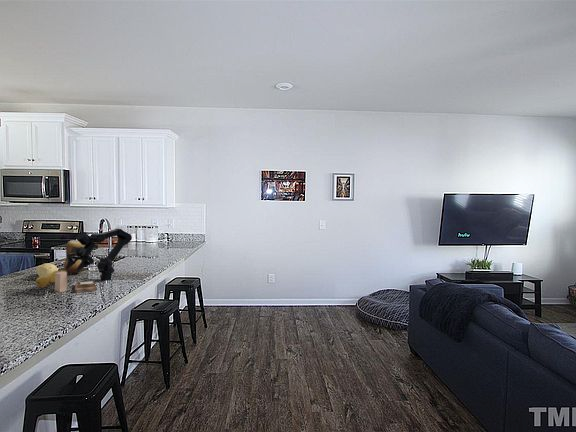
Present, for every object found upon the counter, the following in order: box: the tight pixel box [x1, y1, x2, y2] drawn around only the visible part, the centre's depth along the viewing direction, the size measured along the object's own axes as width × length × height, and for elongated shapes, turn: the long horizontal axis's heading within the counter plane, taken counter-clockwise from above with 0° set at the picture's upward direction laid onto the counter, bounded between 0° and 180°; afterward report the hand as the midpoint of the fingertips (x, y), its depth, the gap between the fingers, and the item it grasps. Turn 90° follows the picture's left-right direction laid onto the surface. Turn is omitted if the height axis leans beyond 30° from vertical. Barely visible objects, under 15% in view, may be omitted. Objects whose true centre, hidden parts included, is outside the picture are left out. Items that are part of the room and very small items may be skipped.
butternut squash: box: [63, 239, 85, 275], centre depth 272 cm, size 14×13×25 cm
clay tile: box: [79, 281, 93, 284], centre depth 233 cm, size 7×5×2 cm
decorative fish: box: [35, 270, 68, 289], centre depth 237 cm, size 22×3×10 cm, turn 168°
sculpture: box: [36, 262, 59, 278], centre depth 255 cm, size 12×12×11 cm
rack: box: [74, 280, 97, 296], centre depth 227 cm, size 11×21×3 cm, turn 29°
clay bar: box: [54, 271, 68, 293], centre depth 220 cm, size 4×4×12 cm
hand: (71, 269), depth 226 cm, fingers open, 9 cm apart
